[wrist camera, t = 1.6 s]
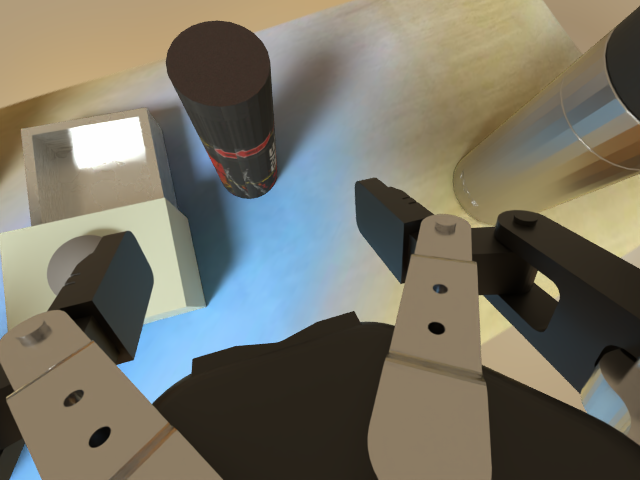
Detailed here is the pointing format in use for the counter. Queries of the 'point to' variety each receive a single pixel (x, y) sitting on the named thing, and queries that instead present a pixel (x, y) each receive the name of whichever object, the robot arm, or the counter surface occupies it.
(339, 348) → the robot arm
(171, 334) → the counter surface
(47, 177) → the white open box
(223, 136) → the deodorant
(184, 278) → the cream rectangular block
